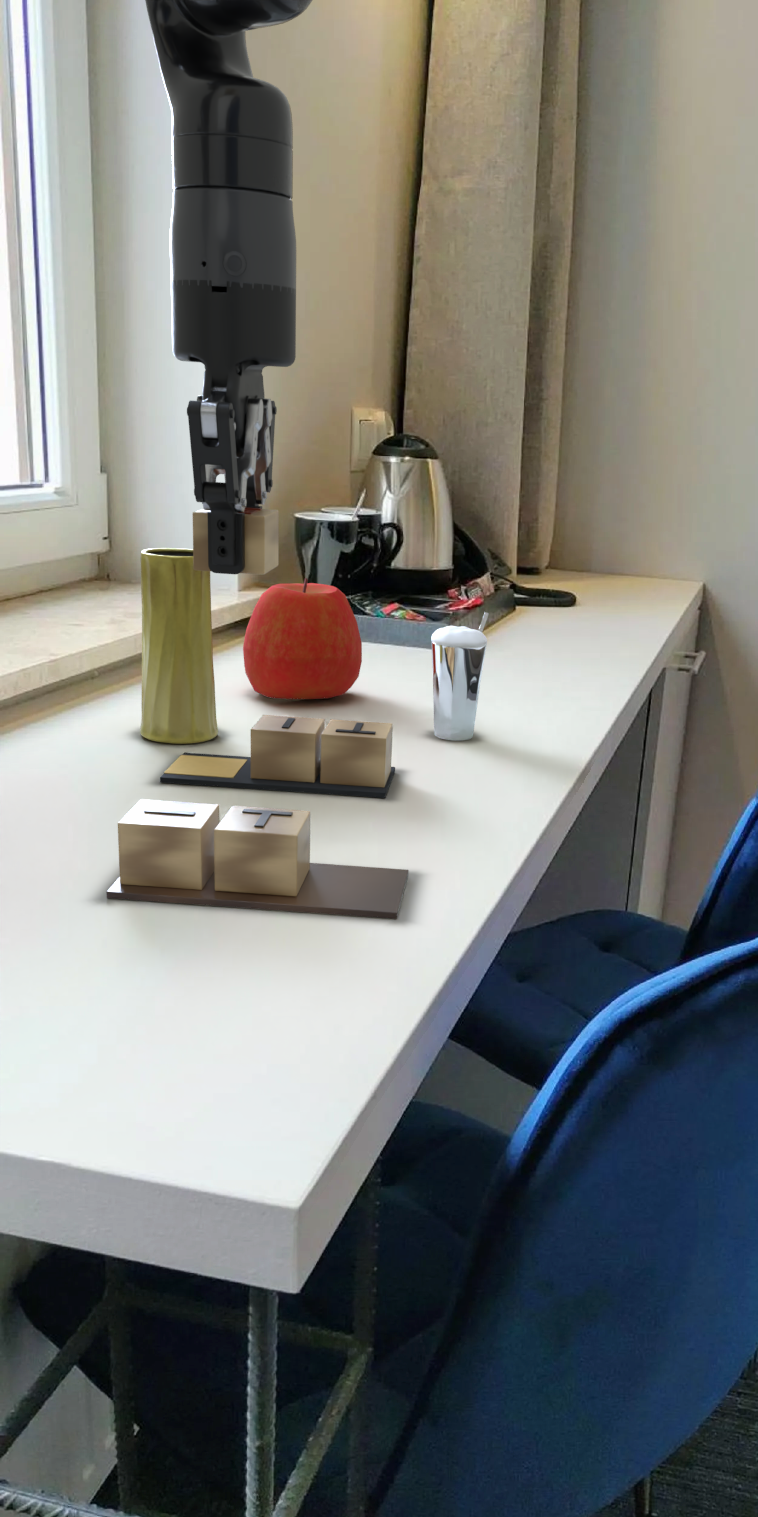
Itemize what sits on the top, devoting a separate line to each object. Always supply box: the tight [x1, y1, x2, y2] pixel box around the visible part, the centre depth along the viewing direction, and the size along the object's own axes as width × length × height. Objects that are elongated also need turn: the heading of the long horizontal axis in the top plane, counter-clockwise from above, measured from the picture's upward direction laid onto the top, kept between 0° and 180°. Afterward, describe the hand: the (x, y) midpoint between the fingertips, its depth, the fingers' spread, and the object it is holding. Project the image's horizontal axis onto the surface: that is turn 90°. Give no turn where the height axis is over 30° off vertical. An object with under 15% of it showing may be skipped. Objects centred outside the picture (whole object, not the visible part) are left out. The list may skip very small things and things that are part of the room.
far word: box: [159, 714, 396, 799], centre depth 96 cm, size 16×7×4 cm, turn 87°
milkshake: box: [430, 611, 490, 742], centre depth 110 cm, size 4×5×10 cm
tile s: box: [192, 507, 280, 576], centre depth 86 cm, size 5×5×4 cm
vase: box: [139, 547, 219, 745], centre depth 104 cm, size 6×6×14 cm
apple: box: [242, 577, 363, 701], centre depth 120 cm, size 11×11×11 cm
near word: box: [106, 798, 410, 920], centre depth 75 cm, size 16×7×4 cm, turn 87°
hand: (236, 566), depth 87 cm, fingers closed on tile s, 4 cm apart
